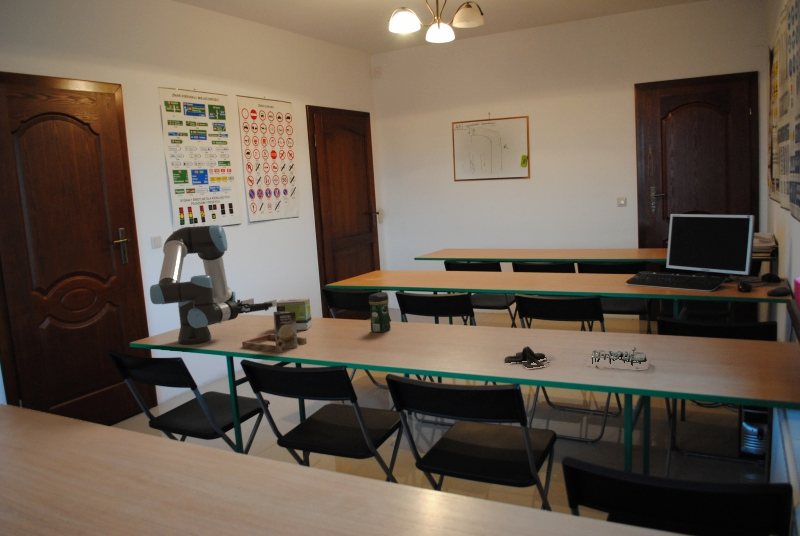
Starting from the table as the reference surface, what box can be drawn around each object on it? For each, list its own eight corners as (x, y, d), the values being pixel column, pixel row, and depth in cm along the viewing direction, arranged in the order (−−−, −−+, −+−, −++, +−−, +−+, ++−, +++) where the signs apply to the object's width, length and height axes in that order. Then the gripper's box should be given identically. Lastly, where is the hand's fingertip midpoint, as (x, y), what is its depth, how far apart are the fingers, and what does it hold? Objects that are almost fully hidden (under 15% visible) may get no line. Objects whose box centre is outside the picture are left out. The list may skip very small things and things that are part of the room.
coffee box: (277, 350, 255) (274, 314, 253) (275, 346, 261) (272, 311, 259) (298, 347, 258) (295, 312, 256) (296, 344, 264) (293, 309, 262)
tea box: (312, 325, 300) (310, 297, 299) (307, 330, 291) (304, 301, 289) (283, 326, 302) (281, 298, 300) (278, 331, 292) (275, 302, 290)
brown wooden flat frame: (242, 347, 264) (242, 342, 263) (270, 338, 278) (269, 333, 277) (279, 353, 250) (278, 347, 250) (306, 343, 264) (306, 338, 264)
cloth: (539, 373, 205) (539, 356, 204) (493, 365, 217) (493, 349, 216) (566, 358, 222) (566, 342, 221) (522, 351, 234) (522, 336, 233)
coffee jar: (380, 327, 287) (378, 290, 285) (393, 329, 282) (390, 291, 280) (367, 332, 279) (365, 294, 277) (380, 333, 275) (378, 295, 272)
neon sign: (649, 339, 225) (649, 361, 199) (649, 350, 226) (649, 373, 199) (592, 336, 234) (584, 357, 207) (592, 347, 234) (584, 368, 208)
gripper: (205, 319, 238) (244, 309, 255) (247, 322, 224) (286, 312, 242) (203, 300, 237) (243, 292, 254) (246, 303, 223) (285, 294, 241)
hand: (264, 302), depth 248 cm, fingers open, 13 cm apart
